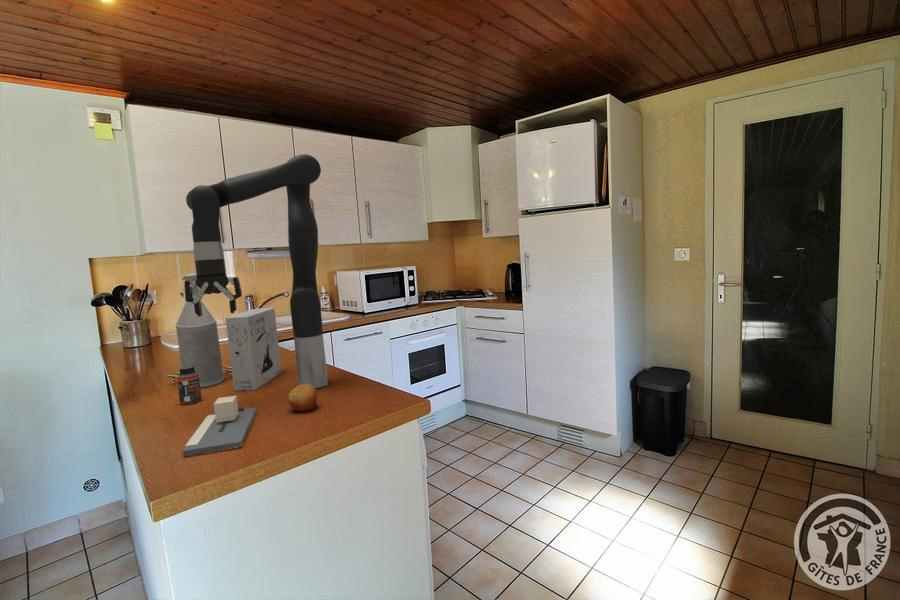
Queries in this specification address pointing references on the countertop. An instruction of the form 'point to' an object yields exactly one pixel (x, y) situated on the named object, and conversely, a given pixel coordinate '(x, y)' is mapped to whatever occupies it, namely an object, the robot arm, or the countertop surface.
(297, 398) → the fruit
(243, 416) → the board
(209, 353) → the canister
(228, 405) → the tab
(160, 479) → the countertop surface
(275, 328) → the cereal box
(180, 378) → the supplement bottle
